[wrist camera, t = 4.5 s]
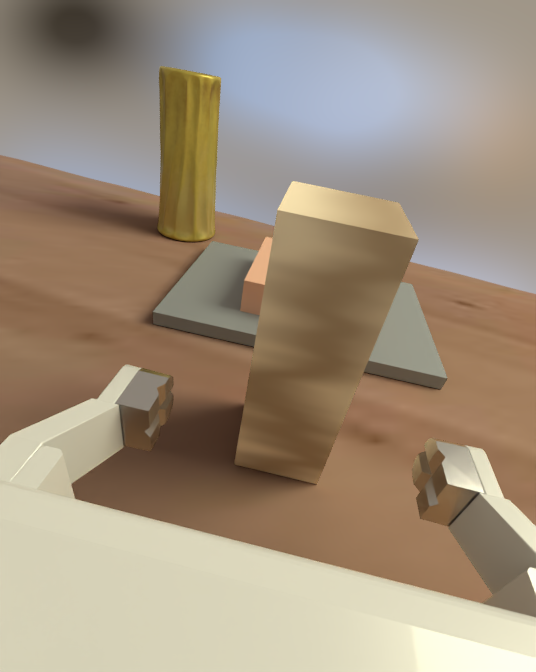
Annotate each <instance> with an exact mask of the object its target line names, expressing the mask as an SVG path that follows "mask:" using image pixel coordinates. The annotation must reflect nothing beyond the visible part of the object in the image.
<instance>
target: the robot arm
mask: <svg viewBox="0 0 536 672" xmlns="http://www.w3.org/2000/svg"><path fill="white" fill-rule="evenodd" d="M173 385H174V384H173V377H172V376H170V375H166V374H163V373H159V372H155V371H151V370H147V369H144V368H139V367H135V366H131V365H125V366H123V367H122V368H121V369H120V371H119V372H118V373H117V374H116V376H115V377H114V378H113V379H112V381H111V382H110V383H109V384H108V386H107V387H106V388H105V389H104V391H103V392H102V393H101V395H100V396H99V397H98V398H97V399H93V398H92V399H89V400H87V401H85V402H83V403H80V404H78V405H76V406H74V407H72V408H69V409H67V410H65V411H63V412H60V413H58V414H56V415H54V416H51V417H49V418H47V419H45V420H42V421H40V422H38V423H36V424H33V425H31V426H29V427H27V428H24V429H22V430H20V431H18V432H15V433H13V434H11V435H9V436H8V437H7V438H6V440H5V441H4V442H3V443H2V444H1V445H0V672H536V527H535V525H534V524H533V523H532V522H531V521H530V520H529V519H528V518H527V517H526V516H525V515H524V514H523V513H522V512H521V511H520V510H519V509H518V508H517V507H516V506H515V505H514V504H513V503H512V502H511V501H510V500H507V499H504V497H503V494H502V492H501V490H500V487H499V485H498V482H497V480H496V477H495V475H494V472H493V470H492V468H491V465H490V463H489V460H488V458H487V455H486V453H485V452H484V451H483V450H482V449H479V448H475V447H470V446H466V445H462V444H457V443H453V442H449V441H444V440H440V439H435V438H430V439H428V440H427V442H426V443H425V445H424V446H425V451H424V452H422V453H420V454H418V456H417V457H416V459H415V461H414V464H413V469H412V477H413V483H414V485H415V486H416V488H417V489H418V490H419V492H420V493H419V494H418V496H417V497H416V500H417V505H418V510H419V515H420V519H423V520H427V521H431V522H434V523H438V524H441V525H445V526H449V530H450V531H451V533H452V534H453V536H454V537H455V539H456V540H457V542H458V543H459V545H460V546H461V548H462V549H463V551H464V552H465V554H466V555H467V557H468V558H469V560H470V561H471V563H472V564H473V566H474V567H475V569H476V570H477V572H478V573H479V575H480V576H481V578H482V579H483V581H484V582H485V584H486V585H487V587H488V588H489V590H490V591H491V593H492V594H493V595H492V596H490V597H489V598H488V599H486V600H485V601H484V602H482V603H478V602H474V601H470V600H466V599H462V598H459V597H455V596H451V595H447V594H443V593H439V592H435V591H431V590H427V589H423V588H420V587H416V586H412V585H408V584H404V583H400V582H396V581H392V580H388V579H385V578H381V577H377V576H373V575H369V574H365V573H361V572H357V571H353V570H349V569H346V568H342V567H338V566H334V565H330V564H326V563H322V562H318V561H314V560H311V559H307V558H303V557H299V556H295V555H291V554H287V553H283V552H279V551H275V550H271V549H268V548H264V547H260V546H256V545H252V544H248V543H244V542H240V541H236V540H232V539H228V538H224V537H221V536H217V535H213V534H209V533H205V532H201V531H197V530H193V529H189V528H186V527H182V526H178V525H174V524H170V523H166V522H162V521H158V520H154V519H151V518H147V517H143V516H139V515H135V514H131V513H127V512H123V511H119V510H115V509H112V508H108V507H104V506H100V505H96V504H92V503H88V502H84V501H80V500H77V499H75V496H74V493H73V489H72V486H71V484H72V483H73V482H75V481H76V480H77V479H79V478H80V477H82V476H83V475H85V474H86V473H87V472H89V471H90V470H92V469H93V468H95V467H96V466H98V465H99V464H100V463H102V462H103V461H105V460H106V459H108V458H109V457H111V456H112V455H113V454H115V453H116V452H118V451H119V450H121V449H122V448H123V447H124V446H127V447H132V448H137V449H141V450H146V451H150V452H151V450H152V448H153V446H154V444H155V443H156V441H157V439H158V437H159V435H160V426H162V425H164V424H165V423H166V422H167V420H168V418H169V415H170V412H171V409H172V405H173V394H172V393H171V391H170V390H171V389H172V387H173Z"/></svg>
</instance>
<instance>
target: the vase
mask: <svg viewBox="0 0 536 672" xmlns="http://www.w3.org/2000/svg"><path fill="white" fill-rule="evenodd" d="M159 87H160V143H161V167H160V168H161V169H160V170H161V172H160V207H159V220H158V226H157V228H158V231H159V232H160V233H161V234H163V235H164V236H166V237H168V238H171V239H175V240H179V241H187V242H199V241H205V240H208V239H210V238H212V237H213V236H214V234H215V192H216V191H215V190H216V166H217V141H218V120H219V103H220V87H221V78H220V77H216V76H212V75H207V74H203V73H197V72H191V71H187V70H181V69H176V68H170V67H164V66H161V67H160V69H159Z"/></svg>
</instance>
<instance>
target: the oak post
mask: <svg viewBox="0 0 536 672" xmlns="http://www.w3.org/2000/svg"><path fill="white" fill-rule="evenodd" d="M417 242H418V237H417V235H416V234H415V232H414V230H413V228H412V226H411V224H410V222H409V221H408V219H407V217H406V215H405V213H404V211H403V209H402V208H401V206H400V204H399V203H397V202H392V201H388V200H383V199H378V198H373V197H368V196H363V195H359V194H354V193H349V192H344V191H339V190H334V189H329V188H325V187H320V186H315V185H310V184H305V183H300V182H296V181H292V183H291V185H290V187H289V189H288V191H287V193H286V195H285V197H284V198H283V200H282V202H281V204H280V206H279V208H278V210H277V216H276V222H275V228H274V233H273V239H272V245H271V251H270V257H269V263H268V269H267V274H266V280H265V286H264V292H263V298H262V304H261V310H260V315H259V321H258V327H257V333H256V339H255V345H254V351H253V356H252V362H251V368H250V374H249V380H248V386H247V392H246V397H245V403H244V409H243V415H242V421H241V427H240V433H239V438H238V444H237V450H236V456H235V462H234V464H235V465H239V466H243V467H247V468H251V469H255V470H260V471H264V472H268V473H272V474H276V475H280V476H284V477H288V478H293V479H297V480H301V481H305V482H309V483H313V484H317V483H318V481H319V478H320V476H321V473H322V471H323V469H324V466H325V464H326V461H327V459H328V457H329V454H330V452H331V449H332V447H333V444H334V442H335V440H336V437H337V435H338V432H339V430H340V428H341V425H342V423H343V420H344V418H345V416H346V413H347V411H348V408H349V406H350V404H351V401H352V399H353V396H354V394H355V392H356V389H357V387H358V384H359V382H360V380H361V377H362V375H363V372H364V370H365V368H366V365H367V363H368V360H369V358H370V356H371V353H372V351H373V348H374V346H375V344H376V341H377V339H378V336H379V334H380V332H381V329H382V327H383V324H384V322H385V320H386V317H387V315H388V312H389V310H390V308H391V305H392V303H393V300H394V298H395V295H396V293H397V291H398V288H399V286H400V283H401V281H402V279H403V276H404V274H405V271H406V269H407V267H408V264H409V262H410V259H411V257H412V255H413V252H414V250H415V247H416V245H417Z"/></svg>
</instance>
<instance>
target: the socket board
mask: <svg viewBox="0 0 536 672" xmlns="http://www.w3.org/2000/svg"><path fill="white" fill-rule="evenodd" d="M272 239H273V238H269V237H266V238H265V240H264V242H263V244H262V246H261V248H260V250H259V251H256V250H251V249H246V248H242V247H237V246H232V245H228V244H223V243H218V242H214V241H212V242H211V243H210V244H209V246H208V247H207V248H206V249H205V250H204V252H203V253H202V254H201V255H200V256H199V258H198V259H197V260H196V261H195V262H194V263H193V265H192V266H191V267H190V268H189V269H188V271H187V272H186V273H185V274H184V275H183V276H182V278H181V279H180V280H179V281H178V282H177V284H176V285H175V286H174V287H173V288H172V290H171V291H170V292H169V293H168V294H167V295H166V297H165V298H164V299H163V300H162V301H161V303H160V304H159V305H158V306H157V307H156V308H155V310H154V311H153V324H156V325H160V326H165V327H169V328H173V329H178V330H182V331H187V332H191V333H195V334H200V335H204V336H209V337H213V338H217V339H222V340H226V341H230V342H235V343H239V344H244V345H248V346H252V347H254V345H255V339H256V333H257V327H258V321H259V315H260V310H261V304H262V298H263V292H264V286H265V280H266V274H267V269H268V263H269V257H270V251H271V245H272ZM364 372H367V373H371V374H375V375H380V376H384V377H389V378H393V379H397V380H402V381H406V382H411V383H415V384H419V385H424V386H428V387H433V388H437V389H441V388H442V387H443V385H444V383H445V382H446V380H447V376H446V373H445V370H444V368H443V365H442V362H441V360H440V357H439V354H438V352H437V349H436V347H435V344H434V341H433V339H432V336H431V333H430V331H429V328H428V325H427V323H426V320H425V317H424V315H423V312H422V309H421V307H420V304H419V301H418V299H417V296H416V293H415V291H414V288H413V286H412V284H408V283H404V282H401V283H400V286H399V288H398V291H397V293H396V295H395V298H394V300H393V303H392V305H391V308H390V310H389V312H388V315H387V317H386V320H385V322H384V324H383V327H382V329H381V332H380V334H379V336H378V339H377V341H376V344H375V346H374V348H373V351H372V353H371V356H370V358H369V360H368V363H367V365H366V368H365V370H364Z"/></svg>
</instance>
